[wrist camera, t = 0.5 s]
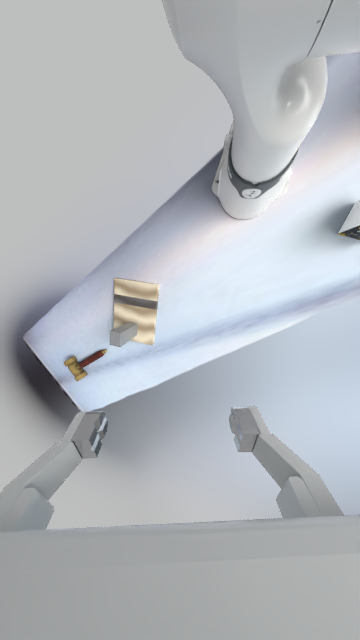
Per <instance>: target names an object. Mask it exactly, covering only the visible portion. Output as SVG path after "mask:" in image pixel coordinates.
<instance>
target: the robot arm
mask: <svg viewBox="0 0 360 640" xmlns="http://www.w3.org/2000/svg"><path fill="white" fill-rule="evenodd" d="M162 2H163V6H164V9H165V13H166V16H167V20H168V23H169V25H170V28H171V31H172V34H173V36H174V39H175V41H176V43H177V45H178V47H179V49H180V51H181V52H182V54H183V56H184V57H185V58H186V59H187V60H189V61H190V62H192V63H193V64H195V65H196V66H198V67H199V68H200V69H202V70H203V71H204V72H205V73H206V74H207V75H208V76H210V78H211V79H212V80H213V81H214V82H215V83H216V84H217V86H218V87H219V88H220V90H221V91H222V93H223V94H224V96H225V98H226V99H227V101H228V103H229V105H230V108H231V110H232V113H233V118H234V120H233V123H232V126H231V129H230V132H229V135H226V138H225V142H224V147H223V149H224V150H223V154H222V157H221V160H220V163H219V166H218V169H217V172H216V175H215V178H214V181H213V184H212V191H213V193H214V194H215V195H216V196H217V197H218V198H219V199H220V202H221V204H222V207H223V208H224V210H225V211H226V212H227V213H228V214H229V215H230V216H232V217H234V218H236V219H243V220H244V219H250V218H253V217H256V216H258V215H259V214H261V213H262V212H264V211H265V210H266V209H267V208H268V207H269V206H270V204H271V203H272V202H273V201H274V200H276V199H278V198H280V197H281V196H283V195H284V194H285V193H286V191H287V190H288V184H289V177H290V176H291V173H292V170H291V166H292V163H293V161H294V158H295V156H296V154H297V152H298V149H299V147H300V145H301V143H302V142H303V140H304V139H305V137H306V135H307V134H308V132H309V131H310V129H311V127H312V126H313V124H314V123H315V121H316V119H317V117H318V115H319V113H320V110H321V108H322V105H323V102H324V99H325V95H326V90H327V83H328V71H327V61H326V56H334V55H342V54H351V53H359V52H360V0H162ZM217 181H219V183H217ZM229 422H230V427H231V431H232V432H233V433H234V434H235V438H234V440H235V444H236V447H237V450H238V452H252V453H253V454H254V456H255V457H256V458H257V459H258V461H259V462H260V463H261V464H262V465H263V467H264V468H265V469H266V470H267V472H268V473H269V474H270V475H271V476H272V478H273V479H274V480H275V481H276V483H277V484H278V485H279V486H280V488H281V489H282V490H281V491H280V493H279V494H278V496H277V499H276V501H277V504H278V506H279V509H280V511H281V514H282V517H283V518H277V519H256V520H235V521H215V522H194V523H174V524H152V525H131V526H110V527H89V528H69V529H47V530H46V528H47V525H48V523H49V521H50V519H51V516H52V514H53V512H54V507H53V506H52V505H51V504H50V502H49V501H48V500H49V499H50V498H51V496H52V495H53V494H54V493H55V492H56V490H57V489H58V488H59V487H60V486H61V485H62V483H63V482H64V481H65V479H66V478H67V477H68V476H69V475H70V474H71V473H72V471H73V470H74V469H75V468H76V467H77V465H78V464H79V463H80V462H81V461H82V459H83V458H97V457H98V454H99V451H100V449H101V446H102V442H101V440H102V439H103V438H104V436H105V435H106V432H107V428H108V421H107V419H106V418H105V412H104V411H100V412H78V413H77V414H76V416H75V418H74V419H73V421H72V422H71V424H70V426H69V428H68V429H67V431H66V433H65V434H64V436H63V438H62V440H61V441H60V442H57V443H56V444H55V445H53V446H52V447H51V448H50V449H49V450H48V451H46V452H45V453H44V454H43V455H42V456H41V457H40V458H38V459H37V460H36V461H35V462H34V463H32V464H31V465H30V466H29V467H28V468H27V469H26V470H24V471H23V472H22V473H21V474H20V475H18V476H17V477H16V478H15V479H14V480H13V481H11V482H10V483H9V484H8V485H7V486H6V487H4V489H3V490H2V492H1V493H0V640H360V515H344V514H343V513H342V511H341V509H340V508H339V506H338V505H337V503H336V501H335V500H334V498H333V497H332V495H331V493H330V492H329V490H328V489H327V487H326V485H325V484H324V482H323V481H322V479H321V477H320V476H319V474H317V473H316V472H315V471H314V470H313V469H312V468H311V467H309V466H308V465H307V464H306V463H305V462H304V461H303V460H302V459H301V458H299V457H298V456H297V455H296V454H295V453H294V452H293V451H292V450H290V449H289V448H288V447H287V446H286V445H285V444H283V443H282V442H281V441H280V440H279V439H278V438H277V437H276V436H275V435H273V434H270V432H269V430H268V428H267V426H266V424H265V422H264V420H263V418H262V417H261V414H260V413H259V411H258V409H257V407H255V406H240V407H232V408H231V414H230V416H229Z"/></svg>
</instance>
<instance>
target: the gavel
mask: <svg viewBox="0 0 360 640" xmlns="http://www.w3.org/2000/svg"><path fill="white" fill-rule="evenodd" d="M106 352H107V350H102V351H98V352H97V353H95V354H93V355H92V356H90V357H89V358H87V359H85V360H84V361H82V362H81V363H80V364H79V363H78V362H77V361H76V360H77V359H76V358H75V356H74V357H72V358H70V359H68V360H67V361H65V362H64V364H65V366H68V368H69V370H70V371H71V372H72V374H73V375H74V376H75V380H76V381H79V380H81V379H82V378H84V377H85V376H86V375H87V373H86V372H85V371H83V369H82V368H83V367H85V366H87V365H88V364H90V363H92V362H94V361H95V360H97V359H99V358H100V357H102V356H103V355H104V354H105V353H106Z"/></svg>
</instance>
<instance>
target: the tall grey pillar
mask: <svg viewBox="0 0 360 640" xmlns="http://www.w3.org/2000/svg"><path fill="white" fill-rule="evenodd" d="M137 330H138V323H133V322H128V323H125V324H123V325H121V326H119V327H117V328H115V329H113V330H111V331H110V345H113V346H117V347H121V346H122V345H124V344H125V343H127V342H128V341H129V340H131V339H132V338H134V337H135V336H136V335H137Z"/></svg>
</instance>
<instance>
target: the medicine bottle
mask: <svg viewBox="0 0 360 640" xmlns="http://www.w3.org/2000/svg"><path fill="white" fill-rule="evenodd" d="M338 234H339V235H343V236H347V237H350V238H354V239H358V240H360V201H358V202H356V203H355V204H354V206H353V207H352V209H351V211H350V213H349V215H348V216H347V218H346V220H345V222H344V223H343V225H342V227H341V229H340V231H339V232H338Z"/></svg>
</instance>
